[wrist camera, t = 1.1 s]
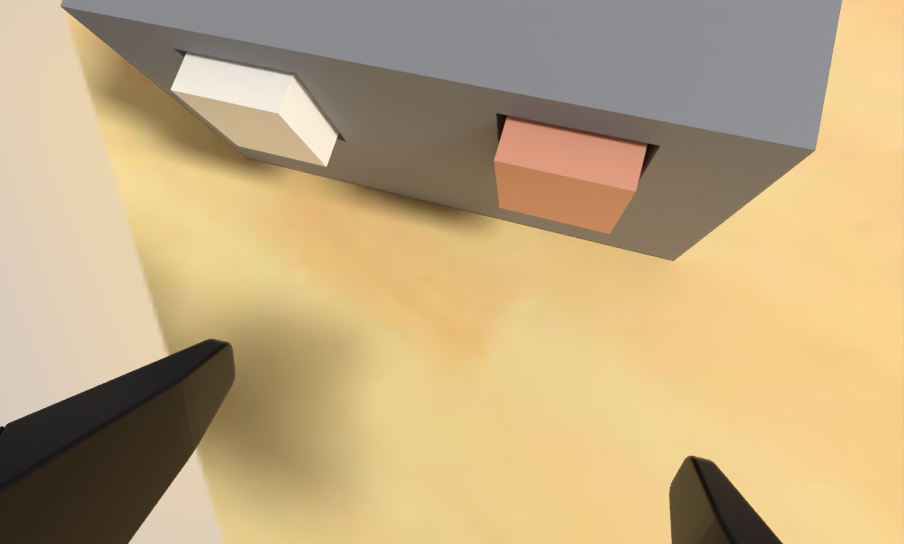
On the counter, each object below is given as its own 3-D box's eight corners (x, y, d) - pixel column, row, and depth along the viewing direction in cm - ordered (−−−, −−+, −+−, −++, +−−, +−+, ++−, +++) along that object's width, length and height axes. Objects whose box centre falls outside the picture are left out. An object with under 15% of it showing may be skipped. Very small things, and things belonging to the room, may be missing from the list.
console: (673, 260, 22) (815, 150, 12) (246, 157, 26) (60, 6, 16) (696, 159, 23) (847, -30, 12) (278, 75, 27) (122, -122, 16)
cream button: (326, 166, 19) (278, 113, 16) (237, 146, 20) (170, 89, 16) (341, 125, 20) (297, 63, 16) (253, 106, 20) (190, 42, 17)
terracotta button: (609, 234, 17) (635, 191, 13) (499, 207, 18) (493, 160, 14) (621, 186, 18) (650, 132, 14) (512, 163, 18) (510, 105, 14)
